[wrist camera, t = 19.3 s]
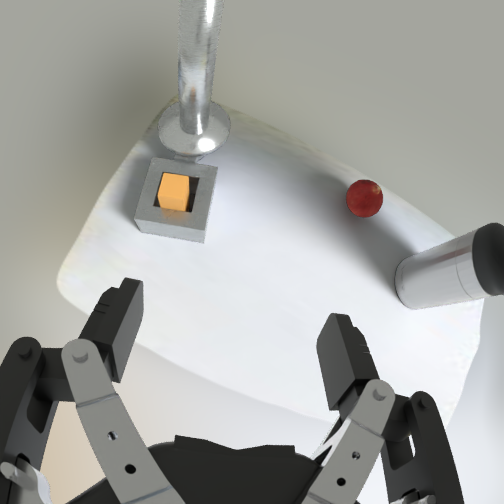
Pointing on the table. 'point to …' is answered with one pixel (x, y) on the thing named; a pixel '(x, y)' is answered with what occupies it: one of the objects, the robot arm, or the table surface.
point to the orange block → (174, 192)
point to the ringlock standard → (188, 128)
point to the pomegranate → (364, 198)
